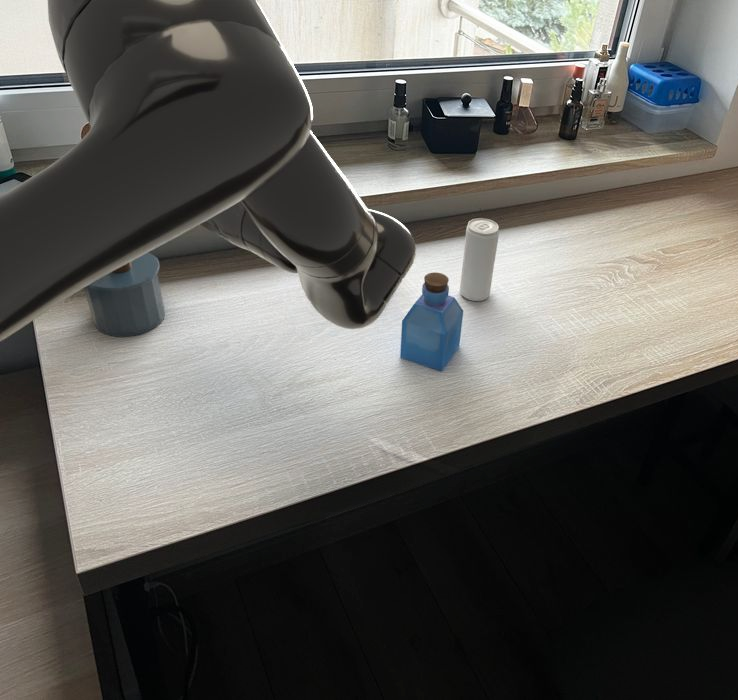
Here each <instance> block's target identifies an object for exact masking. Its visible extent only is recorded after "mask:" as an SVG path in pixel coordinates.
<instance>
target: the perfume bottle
mask: <svg viewBox="0 0 738 700" xmlns="http://www.w3.org/2000/svg"><path fill="white" fill-rule="evenodd" d="M449 279H450V278H449V277H448V276H447V275H446V274H444V273H442V272H429V273H427V274H425V275H424V278H423V281H424V282H423V284H422V289H421V295H420V296H419V297H418V298H417V300H416V301H415V302H414V303H413V305H412V306H411V307H410V309H409V310H408V312H407V313H406V314H405V316H404V317H403V319H402V320H401V332H400V333H401V334H400V335H401V336H400V352H399V358H401V359H404V360H407V361H409V362H413V363H415V364H418V365H422V366H424V367H428V368H431V369H433V370H436V371H439V372H442V371H443V370H444V369H445V367H446V366H447V364H448V363H449V362H450V360H451V359H452V358H453V356H454V355H455V354H456V352H457V350H458V349H459V348H460V344H461V334H462V327H463V318H464V309H463V307H461V305H460V304H459V302H458V300H457V299H456V298H455V296H452V295H449V293H450V286H449V282H450V281H449Z"/></svg>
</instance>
